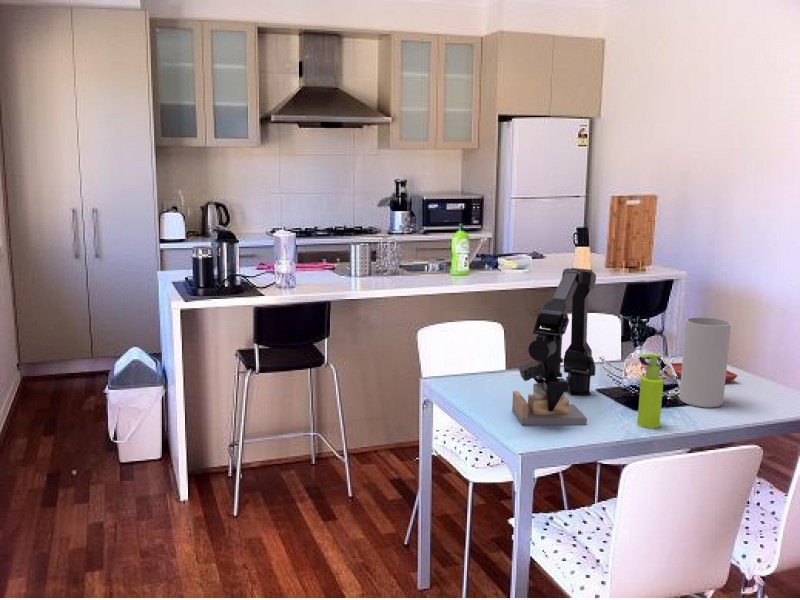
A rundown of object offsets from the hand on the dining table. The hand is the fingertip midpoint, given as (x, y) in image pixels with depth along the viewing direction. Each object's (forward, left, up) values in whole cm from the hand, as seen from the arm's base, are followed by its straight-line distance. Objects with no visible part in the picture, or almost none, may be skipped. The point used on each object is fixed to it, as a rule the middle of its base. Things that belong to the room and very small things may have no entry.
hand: (547, 407), depth 217 cm
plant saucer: (-64, -41, -4) cm, 76 cm away
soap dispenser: (-26, +6, -3) cm, 27 cm away
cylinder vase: (-52, -14, -3) cm, 53 cm away
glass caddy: (0, 0, -1) cm, 1 cm away
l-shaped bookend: (-1, 0, -3) cm, 3 cm away
